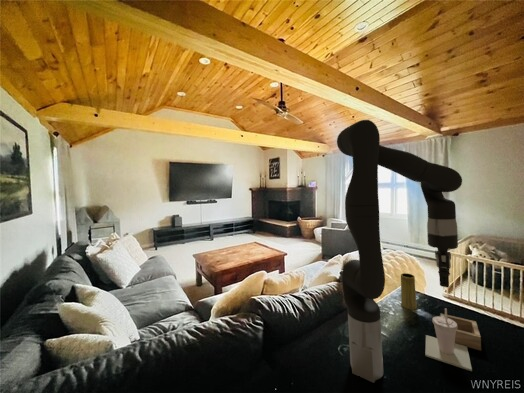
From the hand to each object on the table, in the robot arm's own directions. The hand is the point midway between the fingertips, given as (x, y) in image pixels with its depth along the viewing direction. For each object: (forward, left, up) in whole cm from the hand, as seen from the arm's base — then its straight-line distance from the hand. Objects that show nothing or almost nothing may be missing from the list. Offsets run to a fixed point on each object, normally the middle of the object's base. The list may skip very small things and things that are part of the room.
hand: (443, 281), depth 71 cm
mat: (0, 0, -24) cm, 24 cm away
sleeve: (+12, -4, -24) cm, 27 cm away
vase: (+26, +12, -24) cm, 37 cm away
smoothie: (0, 0, -23) cm, 23 cm away
